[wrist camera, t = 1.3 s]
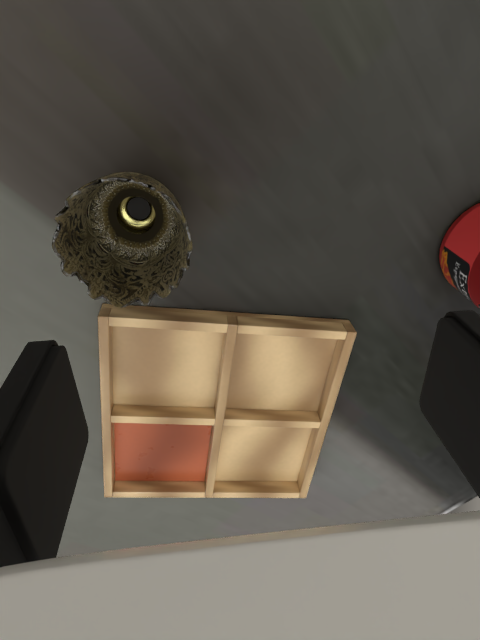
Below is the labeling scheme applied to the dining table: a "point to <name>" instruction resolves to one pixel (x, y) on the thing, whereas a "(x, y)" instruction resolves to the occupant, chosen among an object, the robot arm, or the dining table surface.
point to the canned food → (463, 254)
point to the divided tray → (216, 400)
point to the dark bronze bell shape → (123, 239)
